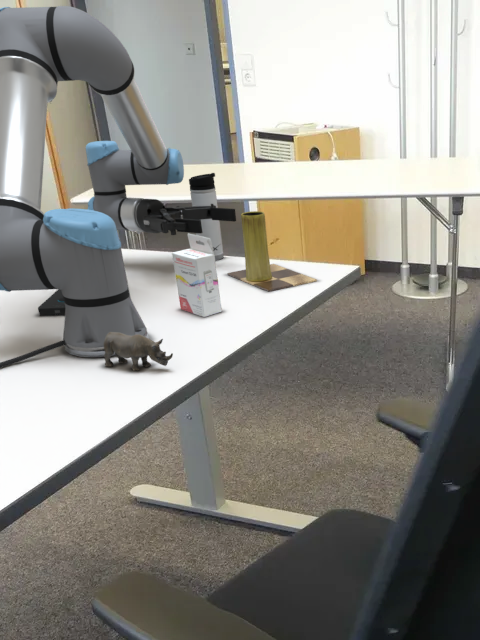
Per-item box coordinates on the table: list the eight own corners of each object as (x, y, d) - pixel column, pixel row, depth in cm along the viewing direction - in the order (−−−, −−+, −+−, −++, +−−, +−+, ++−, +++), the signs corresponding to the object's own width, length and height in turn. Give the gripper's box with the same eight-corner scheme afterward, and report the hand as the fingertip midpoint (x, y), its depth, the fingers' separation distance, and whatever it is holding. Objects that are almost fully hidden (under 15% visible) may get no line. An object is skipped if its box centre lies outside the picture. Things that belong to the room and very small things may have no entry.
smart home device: (35, 308, 158) (64, 282, 175) (37, 316, 159) (66, 289, 176) (75, 306, 158) (100, 280, 175) (77, 314, 159) (102, 288, 176)
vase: (274, 275, 180) (268, 210, 172) (269, 282, 175) (263, 216, 167) (249, 275, 180) (242, 210, 172) (243, 282, 175) (236, 216, 167)
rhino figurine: (168, 376, 129) (162, 341, 125) (101, 367, 133) (93, 334, 130) (181, 367, 132) (175, 333, 128) (115, 359, 136) (108, 326, 133)
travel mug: (223, 260, 195) (212, 175, 183) (197, 261, 195) (185, 176, 184) (226, 254, 200) (216, 171, 189) (202, 255, 200) (190, 172, 189)
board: (268, 291, 170) (268, 290, 169) (227, 274, 183) (227, 273, 183) (316, 281, 176) (316, 279, 176) (273, 265, 189) (273, 263, 189)
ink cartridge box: (179, 310, 160) (167, 236, 152) (198, 304, 163) (187, 232, 155) (204, 317, 155) (193, 242, 147) (223, 311, 158) (213, 237, 150)
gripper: (179, 222, 194) (249, 227, 186) (113, 243, 175) (188, 249, 167) (174, 190, 190) (246, 194, 182) (106, 208, 171) (182, 213, 163)
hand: (218, 220), depth 174 cm, fingers open, 13 cm apart
